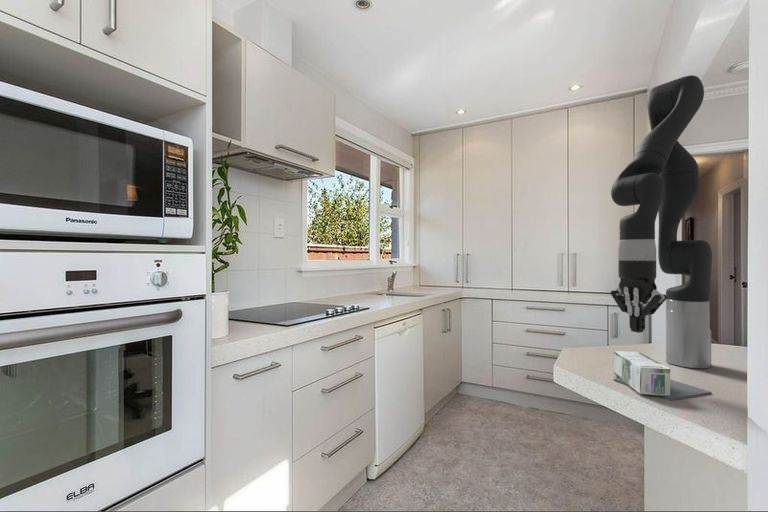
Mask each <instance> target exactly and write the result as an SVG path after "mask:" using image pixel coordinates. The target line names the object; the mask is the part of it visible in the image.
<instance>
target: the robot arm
mask: <svg viewBox="0 0 768 512" xmlns="http://www.w3.org/2000/svg"><path fill="white" fill-rule="evenodd" d="M648 92H649V93H648V95H647V100H646V103H647V105H646V106H647V115H648V120H649V125H650V131H649V133H647V134H646V135H645V136H644V138H643V139H642V140H641V141H640V143H639V145H638V147H637V149H636V151H635V154H634V156H633V158H632V160H631V162H630V163H628V165H626V167H625V168H623V170H622V171H621V173H619V174H618V176H617V177H616V178H615V180H614V181H613V184H612V186H611V189H610V193H611V194H610V196H611V199H612V201H613V202H614V204H616V205H617V206H620V207H629V206H630V207H631V206H637V205H639V206H638V208H637V209H636V211H635V212H633V213H631V214H628V215H625V216H623V217H621V219H620V221H619V244H618V278H619V279H620V280H619V284H618V288H616V289H615V290H611V291H610V295H611V297H612V298H613V299H614V301H615V303H616V304H617V306H618V308H619V309H620V311H621V312H622V313H626V314H628V316H629V317H628V318H629V320H628V321H629V322H628V323H629V328H630V330H631V332H634V333H637V334H639V333H643V332H644V331H645V329H646V317H647V316H651V315H654V314H655V313H656V312H657V311H658V309H659V308H661V306H662V305H663V304H664V303H665V361H666V362H667V364H668V363H669V364H671V365H674V366H679V367H683V368H691V369H709V368H710V366H712V330H711V327H710V326H711V325H710V324H711V322H710V318H711V315H710V314H711V313H710V301H711V300H710V298H711V297H710V295H711V288H712V287H711V282H712V281H711V280H712V264H713V251H712V247H711V244H710V243H709V242H708V241H706V240H702V239H697V240H696V239H694V240H693V239H692V240H690V239H689V240H678V231H679V230H678V229H679V226H680V223H681V221H682V219H683V217H684V216H685V214H686V213H687V211H688V210H689V208H690V207H691V205H692V204H693V202H694V201H695V199H696V197H697V195H698V193H699V192H700V191H699V190H700V175H699V164H698V162H697V161H696V159H695V158H694V157H693V155H692V154H691V153H690V152H689V151H688V150H687V149H686V148H685V147H684V146H683V145H682V144H681V143H680V142H679V141H678V140H679V138H680V137H681V136H682V134H683V132H684V131H685V130H686V128H687V127H688V126H689V124H690V122H691V121H692V119H693V118H694V117H695V115H696V114H697V112H698V111H699V109H700V107H701V105H702V104H703V101H704V97H705V88H704V85H703V81H702V80H701V79H700V77H698V76H697V75H685V76H682V77H679V78H677V79H673V80H670V81H668V82H665V83H662V84H659V85H656V86H655V87H652V88H651V89H650V91H648ZM657 217H658V237H657V238H658V239H657V240H658V241H657V242H658V244H657V245H658V246H657V245H656V240H655V239H656V221H657ZM657 248H658V249H657ZM657 252H658V253H657ZM657 256H658V258H657ZM657 260H658V265H659V268H660V269H661V271H662V272H663V273H665V274H666V275H682V276H683V275H687V276H688V275H689V280H688V281H687V282H685V283H682V284H681V285H677V286H672V287H669V288H667V289H666V290H665V294H662V293H661V292H659V290H657V289H658V288H657V287H658V286H657V284H656V281H655V280H656V279H657Z"/></svg>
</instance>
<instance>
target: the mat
mask: <svg viewBox="0 0 768 512" xmlns="http://www.w3.org/2000/svg"><path fill="white" fill-rule="evenodd" d="M613 381H614V382H617V383H620V384H623V385H625V386H629V385H628V384H626V383H625V382H624V381H623V380H621V379H620V378H619V377H616V378H613ZM629 387H630V386H629ZM706 395H712V391H710V390H707V389H703V388H700V387H697V386H693V385H690V384H686V383H684V382H680V381H676V380H674V379H673V380H672V379H670V396H666V395H656V396H657V397H661V398H664V399H666V400H669V401H676V400H682V399H688V398H694V397H700V396H706Z"/></svg>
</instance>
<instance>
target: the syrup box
mask: <svg viewBox="0 0 768 512" xmlns="http://www.w3.org/2000/svg"><path fill="white" fill-rule="evenodd" d="M612 370H613V374H614V375H615V376H616V378H620V379H621V380H623V381H624V382H625V383H626V384H628V385H629V387H630V388H632V389H633V390H635V392H637V393H638V394H639V395H651V396H657V395H666V396H670V380H671V368H669V367H668V366H666V365H665V364H662V363H661V362H659V361H657V360H655V359H653V358H651V357H649V356H647V355H646V354H645V353H641V352H640V351H625V350H613V369H612ZM628 385H627V386H628Z"/></svg>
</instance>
